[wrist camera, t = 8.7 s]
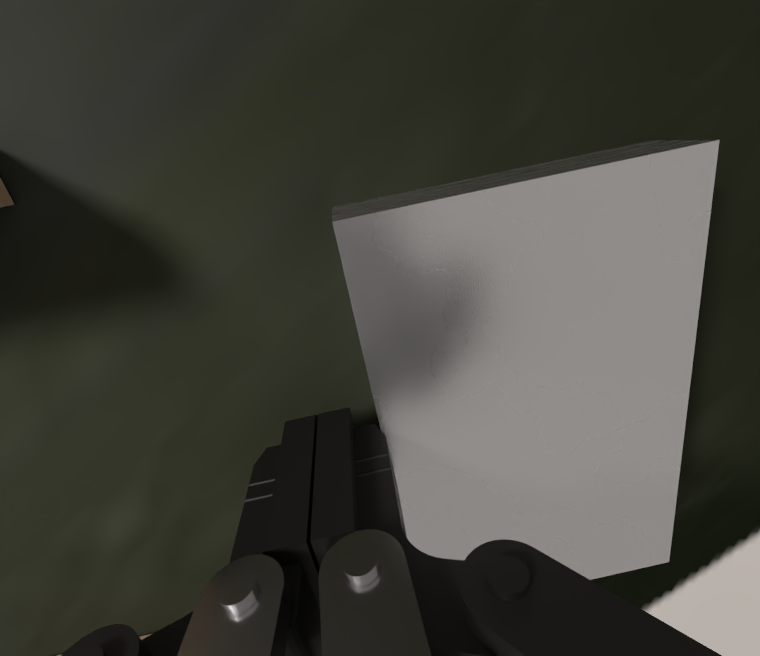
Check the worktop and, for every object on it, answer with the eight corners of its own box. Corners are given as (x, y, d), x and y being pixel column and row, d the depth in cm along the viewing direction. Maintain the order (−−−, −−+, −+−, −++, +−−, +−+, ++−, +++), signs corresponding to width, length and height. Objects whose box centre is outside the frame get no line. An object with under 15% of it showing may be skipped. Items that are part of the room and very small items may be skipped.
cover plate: (333, 204, 10) (332, 221, 8) (633, 140, 10) (719, 139, 8) (410, 543, 14) (424, 617, 12) (617, 497, 14) (669, 562, 12)
